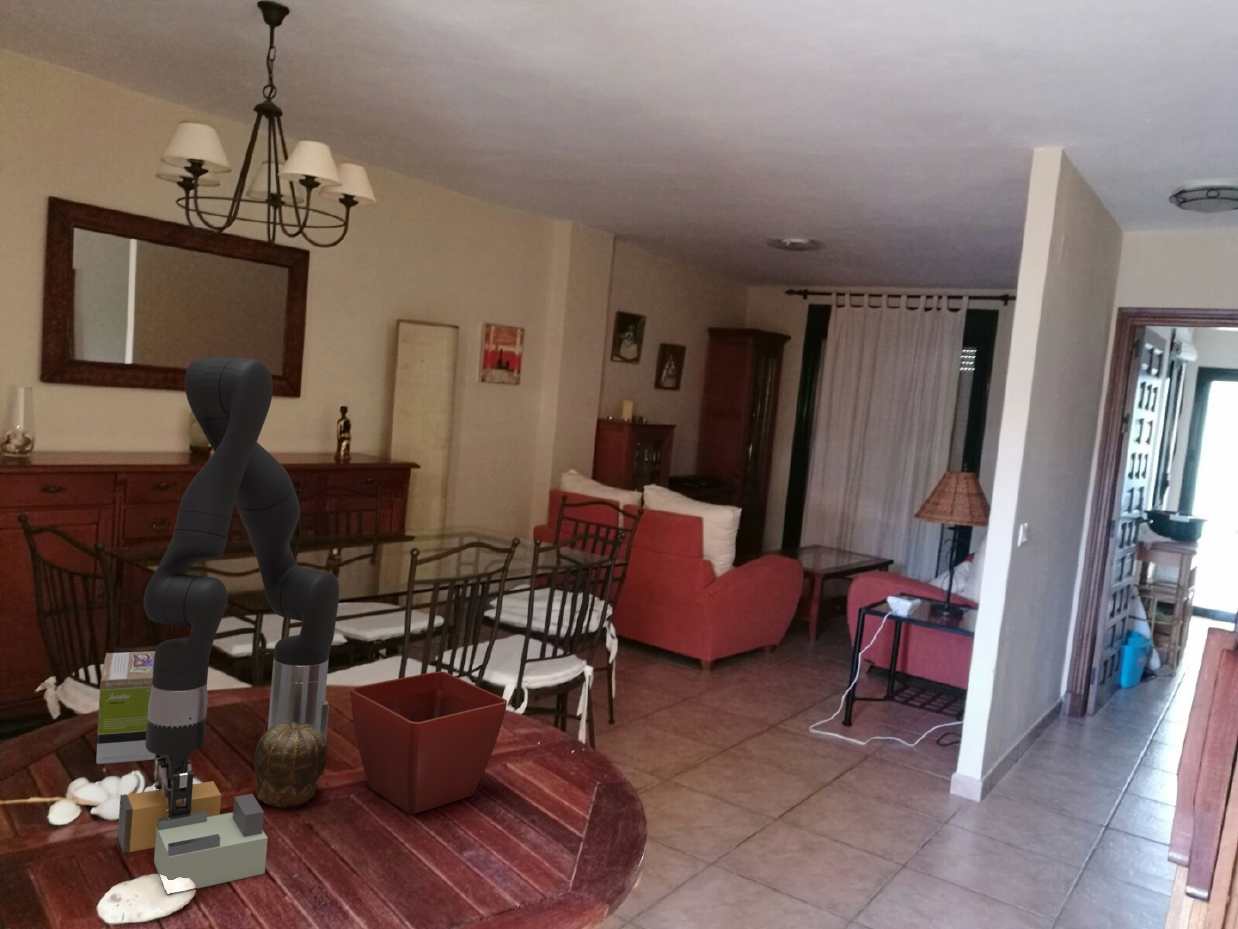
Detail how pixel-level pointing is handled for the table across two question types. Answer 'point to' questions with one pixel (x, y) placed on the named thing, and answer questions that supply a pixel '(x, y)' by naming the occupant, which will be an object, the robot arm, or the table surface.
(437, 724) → the plant pot
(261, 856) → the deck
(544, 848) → the table surface
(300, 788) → the shell
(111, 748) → the tea box
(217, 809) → the orange rectangular block
